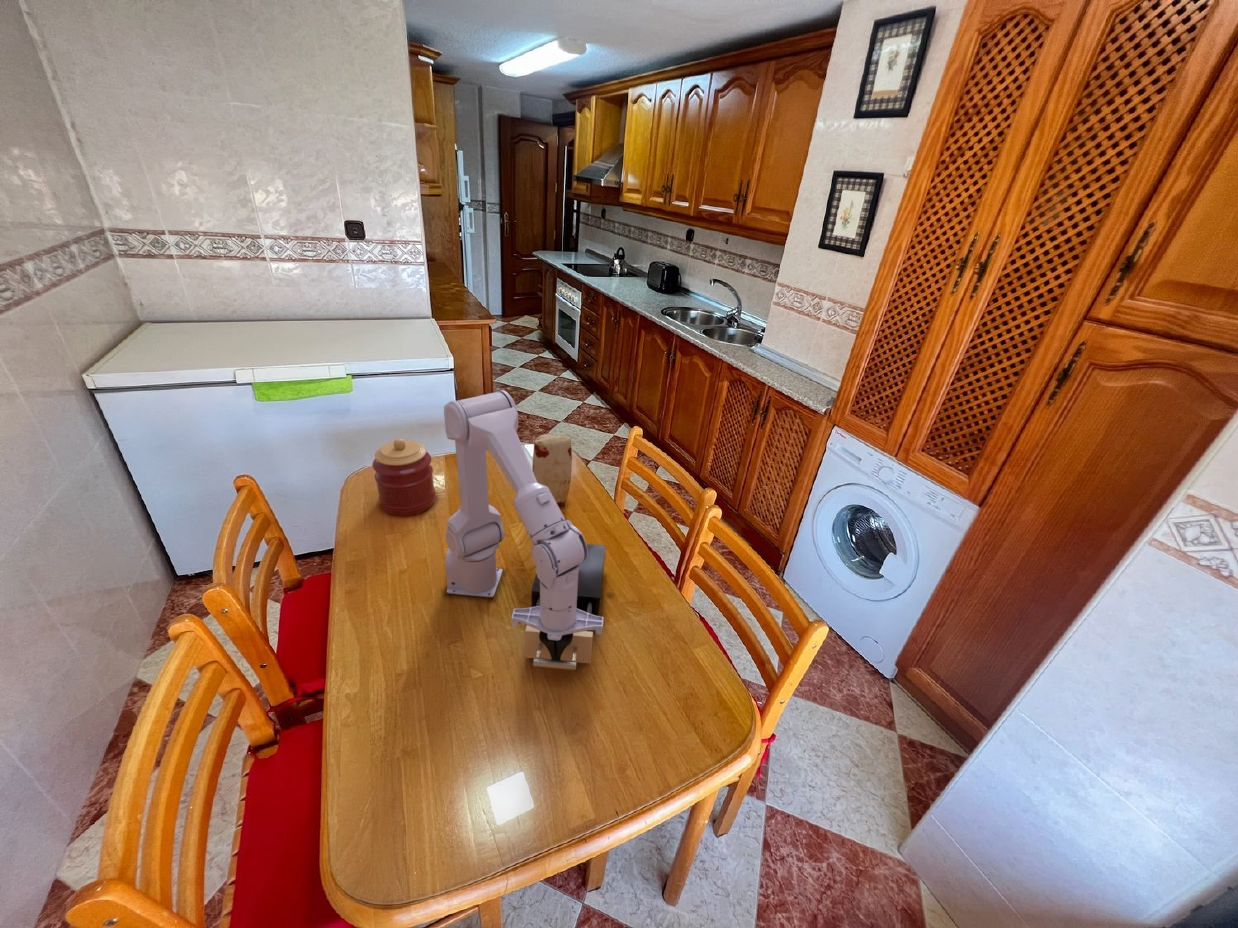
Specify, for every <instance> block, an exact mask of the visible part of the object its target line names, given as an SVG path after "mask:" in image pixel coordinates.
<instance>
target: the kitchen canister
mask: <svg viewBox="0 0 1238 928" xmlns="http://www.w3.org/2000/svg"><path fill="white" fill-rule="evenodd" d="M431 462H432V456H431V454H430V453H429V452H427V447H426V446H425V445H423V444H422V443H420V442H418V441H414V440H411V439H403V438H396V439H395V440H392V441H389V442H387V443H385V444H384V445H382V446H380V447H379V448H378V449H377V450H375V452H374V459H373V460H372V464H371V465H372V469H373V470H374V471H375V474H374V480H375V482H376V487H377V492H378V502H379V505H380V506H381V508H382V510H383V511H384V512H385V513H387V514H389V515H392V516H398V517H399V516H400V517H402V516H403V517H406V516H413V515H417V514H420V513H422V512H423V513H424V511H426V510H428V509H429V508H431V507H432V506H433V504H434V503H435V501H436V494H437V493H436V492H437V491H436V488H435V484H434V483H435V482H434V475H433V473H434V469H433V467H432V465H431Z"/></svg>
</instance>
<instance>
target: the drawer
mask: <svg viewBox="0 0 1238 928" xmlns="http://www.w3.org/2000/svg"><path fill="white" fill-rule="evenodd" d="M593 603H594V600H589V599H578V598H577V609H580V610H582V611H585V612H587V613H590V614H592V611H593ZM536 606H540V595H539V596H538V600H537V604H536ZM539 634H540V630H537V629H535V628H533V627H530V626H528V625H525V630H524V641H525V642H524V643H525V644H524V646H525V647H524V648H525V649H524V651H525V653H524V654H525V658H529V659H533V661H532V662H533V663H532V667H535V668H545V669H556V670H566V671H577V663H580V664H591V659H592V648H593V637H594V631H591V630H587V631H582V632H577V633H573V638H572V641H571V643H570V644H569V645H568V646H567V647H566V648H565V650H564V651H563V653H562V655H561V659H560V660H557V659H552V658H551V655H550V653H549V650H548V649H547V647H546V646H545V645H544V644H543V643H542V642H540V639H539Z"/></svg>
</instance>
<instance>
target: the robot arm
mask: <svg viewBox="0 0 1238 928" xmlns="http://www.w3.org/2000/svg"><path fill="white" fill-rule="evenodd" d="M443 417H444V419H443V420H444V428H445V434H446V438H447V439H448V440H451V441H454V444H455V446H454V447H455V456H456V467H457V479H458V491H459V500H460V502H459V503H460V506H459V508H458V509H457V511H455V512H454V513H452V514H451V516H450V517H449V518H448V519H447V520H446V522H447V523H446V524H447V525H446V532H445V540H446V544H447V548H448V549H447V552H446V555H445V561H444V567H445V577H446V585H447V589H446V594H449V595H460V596H471V597H481V598H494V597H495V594H496V592H497V589H498V586H499V583H500V581H501V578H502V576H503V571H504V569H503V568H497V554H496V551H497V549H499V546H500V545H499V543H502V542H503V541H504V539H505V535H506V534H505V528H504V524H503V521H502V515H501V513H500V511H498V510H497V508H496V507H495V506H493V505H492V504H489V503H490V501H489V486H488V485H489V483H488V466H487V464H488V463H487V451H489V453H490V454H491V456H492V458H493V460H495V462H496V463H497V465H498V467H499V469H500V470H501V472H502V473H503V474H504V476H505V477H506V479H507V481H508V483H509V484H510V486H511V488H512V490H513V491H514V492H515V497H514V500H513V507H514V509H515V511H516V513H517V515H518V516H519V519H520V521H521V522H522V525H523V526H524V529H525V531H526V532H527V535H528V537H529V539H530V540H531V543H532V545H533V548H531V549H530V551H531V558H532V560H533V563H534V566H535V575H536V574H537V577H538V579H539V580H540V606H536V607H531V606H530V607H524V608H513V611H512V614H511V627H519V625H520V624H522V625H525V626H530V627H533V628H535V629H537V630H540V634H539V639H540V642H542V643H543V644H544V645H545V646H546V647H547V649H548V650H549V653H550V655H551V658H552V659H557V660H560V659H561V655H562V653H563V651H564V650H565V648H566V647H567V646H568V645H569V644H570V643H571V641H572V638H573V633H577V632H582V631H587V630H590V631H592V632H595V635H603V629H604V618H605V617H604V616H600V615H599V616H595V615H592V614H590V613H587V612H585V611H582V610H580V609H577V589H578V571H579V564H581V563H582V562H583V561H585V560H586V559H587V557H588V548H587V544H588V543H587V541H586V539H585V536H584V535H583V533H582V532H581V530H580V529H579V528H578V527H576V526H574V524H573V523H572V521H571V520H570V519H566V518H565V516H564V514H563V512H562V510H561V509H560V506H558V505H557V503H556V501H555V499H554V497H553V495H552V493H551V492H550V490H549V488H548V487H547V486H544V485H541V484H539V483H538V482H537V480H536V478H535V476H534V473H533V471H532V466H531V464H530V461H529V459H528V456H527V454H526V452H525V449H524V447H523V445H522V442H521V440H520V437H519V435H518V433H517V431H518V428H519V412H518V409H517V405H516V403H515V401H514V399H513V397H512V396H511V394H509V393H508V392H507V391H506V390H503V389H500V390H497V391H495V392H490V393H486V394H481V395H477V396H474V397H469V398H464V399H459V400H450V401H449V402H447V403H446V404H445V405H443Z"/></svg>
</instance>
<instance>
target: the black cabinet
mask: <svg viewBox="0 0 1238 928" xmlns="http://www.w3.org/2000/svg"><path fill="white" fill-rule="evenodd" d="M586 544H587V548H588V557H587V559H586V560H585V561H583V562H582V563H581V564H579V571H578V589H577V598H578V599H589V600H594V603H593V611H592V615H595V616H600V610H601V600H602V599H601V598H602V590H603V589H602V588H603V581H604V570H605V560H606V547H607V546H606V545H603V544H602V545H601V544H591V543H586ZM530 593H531V596H530V597H531V602H530V603H531V606H530V607H536V604H537V600H538V596H539V595H540V580H539V579H538V577H537V574H536V573H535V576H534V580H533V583H532V588H531V592H530Z"/></svg>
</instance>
